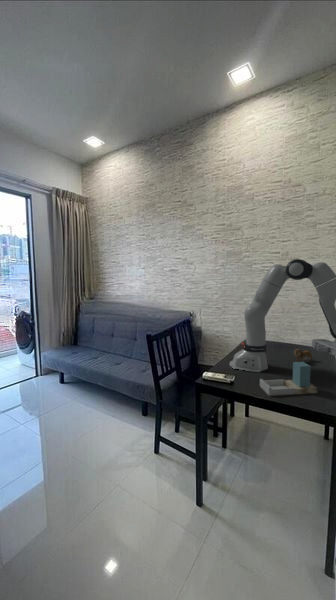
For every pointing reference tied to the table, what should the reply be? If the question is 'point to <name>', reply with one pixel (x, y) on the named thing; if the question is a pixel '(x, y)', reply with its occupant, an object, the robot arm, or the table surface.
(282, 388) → the box
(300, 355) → the lion figurine
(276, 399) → the table surface
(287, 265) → the robot arm
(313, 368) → the table surface
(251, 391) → the table surface
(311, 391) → the birch plate
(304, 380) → the teal block
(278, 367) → the table surface
